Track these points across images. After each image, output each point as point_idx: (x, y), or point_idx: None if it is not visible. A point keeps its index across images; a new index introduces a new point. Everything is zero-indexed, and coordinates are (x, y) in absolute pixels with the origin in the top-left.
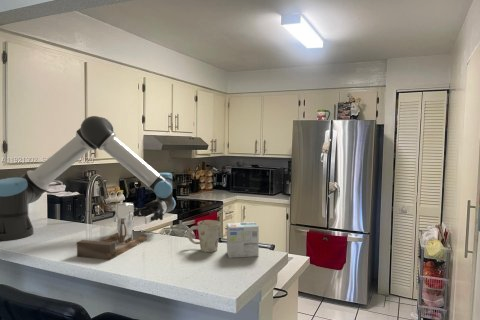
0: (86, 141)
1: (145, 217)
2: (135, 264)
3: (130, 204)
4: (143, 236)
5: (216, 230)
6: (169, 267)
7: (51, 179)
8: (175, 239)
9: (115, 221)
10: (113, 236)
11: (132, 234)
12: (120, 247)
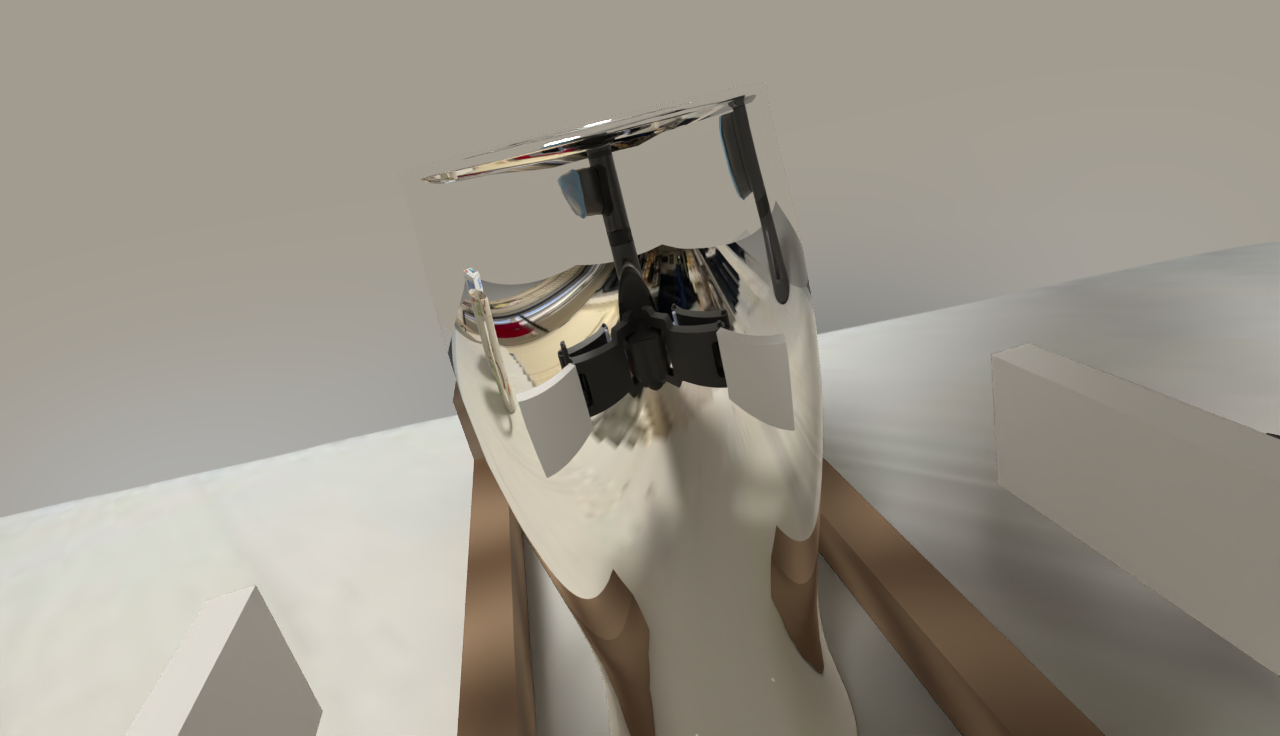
0: None
1: (246, 597)
2: (292, 513)
3: (580, 188)
4: None
5: None
6: (48, 588)
7: None
8: None
9: (1005, 473)
10: (900, 606)
11: (625, 726)
12: (487, 497)
